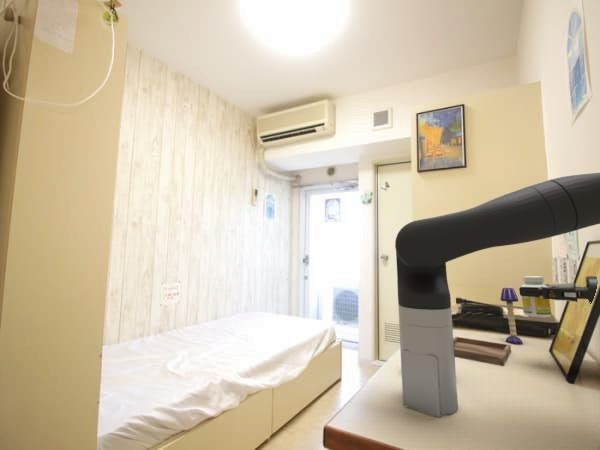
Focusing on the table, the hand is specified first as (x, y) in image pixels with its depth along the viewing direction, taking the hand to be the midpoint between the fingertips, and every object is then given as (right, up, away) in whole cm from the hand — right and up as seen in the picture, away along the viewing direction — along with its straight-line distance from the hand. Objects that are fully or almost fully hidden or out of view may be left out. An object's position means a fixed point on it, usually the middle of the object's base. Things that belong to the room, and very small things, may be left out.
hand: (521, 290), depth 74 cm
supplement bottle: (+2, -6, -3) cm, 7 cm away
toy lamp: (+10, -20, +16) cm, 28 cm away
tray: (-8, -19, +6) cm, 21 cm away
